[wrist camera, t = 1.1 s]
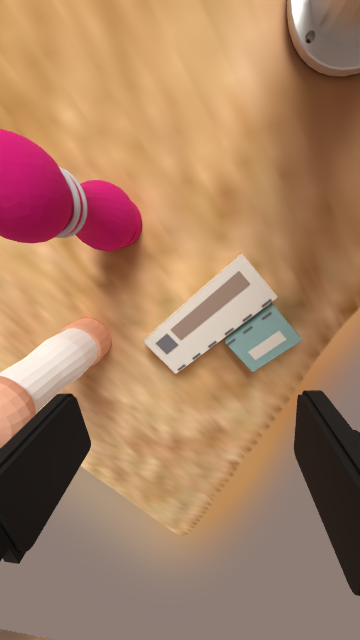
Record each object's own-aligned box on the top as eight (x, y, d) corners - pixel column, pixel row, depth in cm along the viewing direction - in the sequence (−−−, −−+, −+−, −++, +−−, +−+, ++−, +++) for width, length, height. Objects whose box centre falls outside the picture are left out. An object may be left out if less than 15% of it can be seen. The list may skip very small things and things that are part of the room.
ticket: (239, 254, 27) (243, 254, 25) (272, 293, 28) (278, 297, 26) (148, 335, 33) (143, 342, 30) (178, 365, 34) (175, 374, 31)
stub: (269, 302, 29) (275, 307, 26) (295, 332, 30) (303, 340, 27) (224, 336, 31) (225, 343, 29) (249, 363, 32) (252, 372, 30)
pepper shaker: (107, 363, 36) (3, 479, 18) (67, 349, 36) (-75, 451, 18) (115, 326, 33) (4, 418, 15) (72, 311, 33) (-88, 385, 15)
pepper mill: (148, 249, 29) (32, 250, 10) (99, 252, 30) (-91, 257, 11) (143, 189, 26) (-22, 40, 7) (90, 194, 27) (-172, 73, 8)
